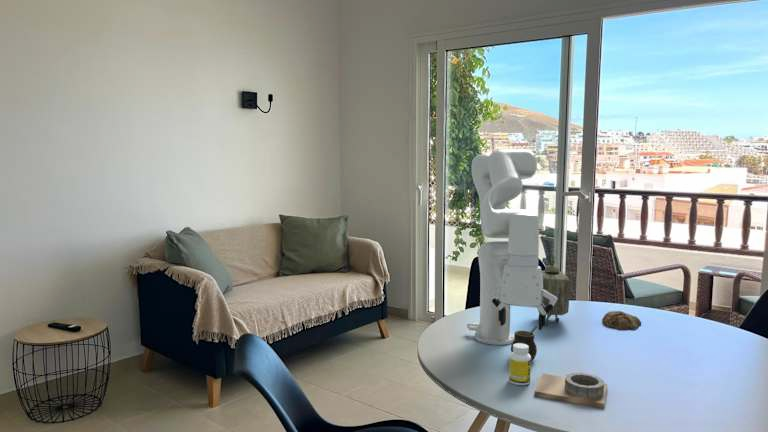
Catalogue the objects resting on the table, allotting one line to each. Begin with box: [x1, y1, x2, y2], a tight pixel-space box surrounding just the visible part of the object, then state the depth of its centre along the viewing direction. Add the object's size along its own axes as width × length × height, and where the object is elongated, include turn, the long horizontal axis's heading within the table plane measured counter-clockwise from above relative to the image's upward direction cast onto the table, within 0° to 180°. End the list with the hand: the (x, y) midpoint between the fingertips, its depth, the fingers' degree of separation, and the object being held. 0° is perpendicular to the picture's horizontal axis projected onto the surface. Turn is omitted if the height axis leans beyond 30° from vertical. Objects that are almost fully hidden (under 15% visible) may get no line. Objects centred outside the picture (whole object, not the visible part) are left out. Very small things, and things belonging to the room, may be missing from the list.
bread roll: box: [601, 310, 642, 331], centre depth 191 cm, size 13×12×5 cm
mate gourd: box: [510, 325, 539, 362], centre depth 158 cm, size 7×8×10 cm
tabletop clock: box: [537, 251, 570, 327], centre depth 193 cm, size 14×9×25 cm, turn 172°
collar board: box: [534, 372, 608, 409], centre depth 137 cm, size 16×12×4 cm
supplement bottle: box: [508, 343, 532, 386], centre depth 143 cm, size 5×5×10 cm
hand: (521, 326), depth 141 cm, fingers open, 9 cm apart
